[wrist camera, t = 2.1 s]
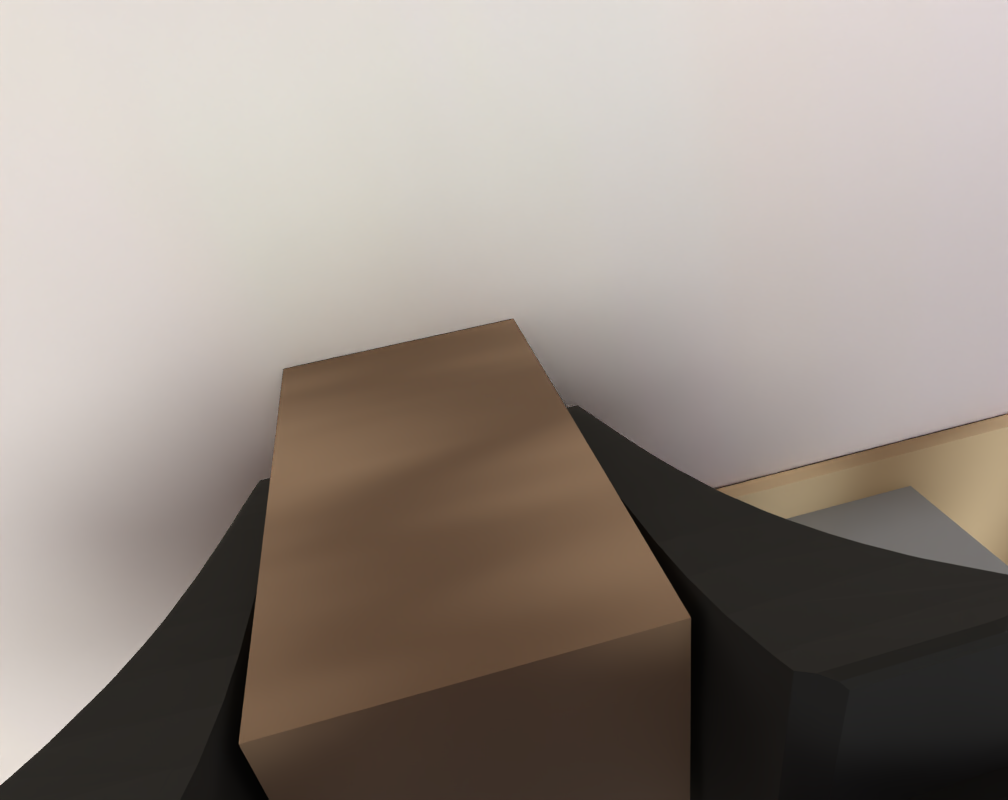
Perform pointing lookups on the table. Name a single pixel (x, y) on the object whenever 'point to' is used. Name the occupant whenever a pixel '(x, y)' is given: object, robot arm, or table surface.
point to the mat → (906, 480)
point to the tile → (904, 529)
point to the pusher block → (456, 593)
